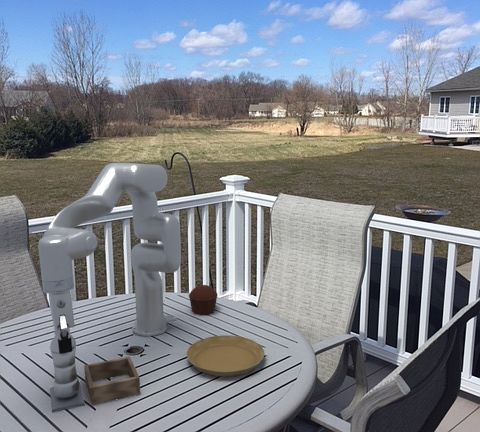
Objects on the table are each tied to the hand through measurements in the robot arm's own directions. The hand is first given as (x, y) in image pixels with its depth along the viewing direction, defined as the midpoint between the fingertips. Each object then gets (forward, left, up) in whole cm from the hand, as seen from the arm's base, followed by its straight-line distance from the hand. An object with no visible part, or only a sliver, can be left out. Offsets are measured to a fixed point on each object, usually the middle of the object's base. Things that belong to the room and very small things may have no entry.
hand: (64, 344), depth 128 cm
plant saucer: (-47, -1, -16) cm, 49 cm away
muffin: (-54, -41, -16) cm, 69 cm away
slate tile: (0, +1, -15) cm, 15 cm away
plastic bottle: (0, +1, -15) cm, 15 cm away
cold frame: (-12, +1, -15) cm, 19 cm away
